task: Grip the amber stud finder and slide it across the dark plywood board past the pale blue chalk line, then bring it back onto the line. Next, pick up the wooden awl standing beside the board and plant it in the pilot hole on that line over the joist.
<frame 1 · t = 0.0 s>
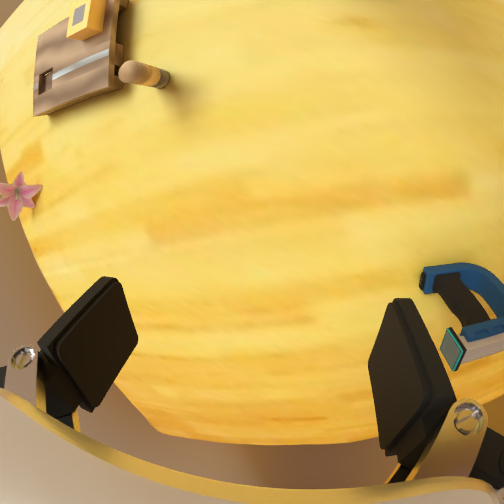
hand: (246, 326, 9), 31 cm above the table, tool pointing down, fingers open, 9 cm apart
stud finder: (93, 19, 24), point 4 cm above the table, touching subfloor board
handheld scanner: (446, 274, 39), on the table
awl: (160, 79, 33), on the table
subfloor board: (81, 57, 31), on the table
lily: (31, 189, 45), on the table
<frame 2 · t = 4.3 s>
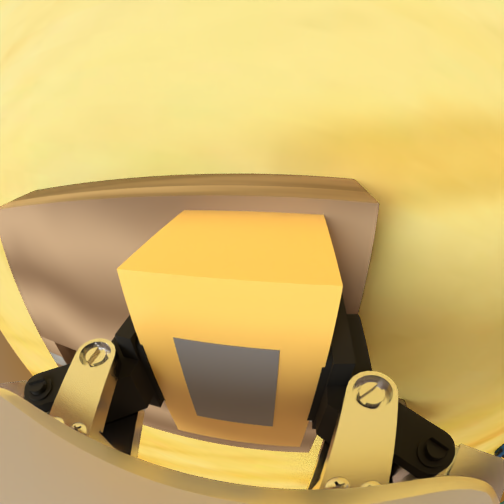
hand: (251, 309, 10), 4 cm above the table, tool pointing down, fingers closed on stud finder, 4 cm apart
stud finder: (252, 303, 10), point 4 cm above the table, touching gripper, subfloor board
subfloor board: (170, 319, 17), on the table
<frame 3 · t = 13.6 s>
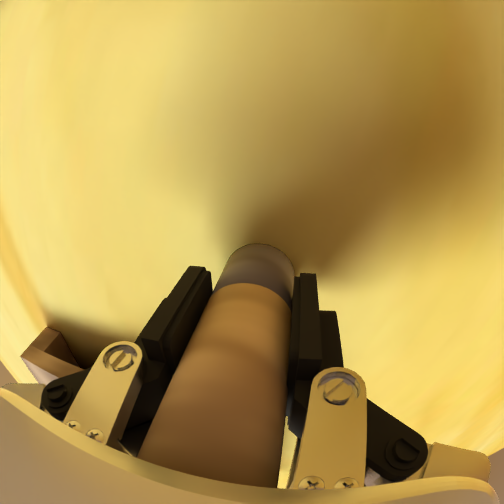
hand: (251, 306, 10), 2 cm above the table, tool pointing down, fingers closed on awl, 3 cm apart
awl: (259, 275, 12), on the table, touching gripper
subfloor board: (161, 423, 20), on the table
when the fingers open (5 cm above the table, at t = 20.0 s): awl stays where it is, resting on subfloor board.
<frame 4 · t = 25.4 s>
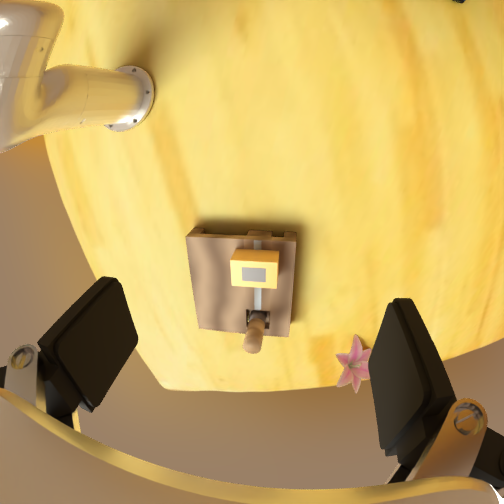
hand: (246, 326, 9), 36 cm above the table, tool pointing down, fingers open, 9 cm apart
stud finder: (257, 262, 45), point 4 cm above the table, touching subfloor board
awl: (258, 314, 51), point 3 cm above the table, touching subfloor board
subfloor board: (244, 279, 51), on the table
lily: (353, 350, 56), on the table
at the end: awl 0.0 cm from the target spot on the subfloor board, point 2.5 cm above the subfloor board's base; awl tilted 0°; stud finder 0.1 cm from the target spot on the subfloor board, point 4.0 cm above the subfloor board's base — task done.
